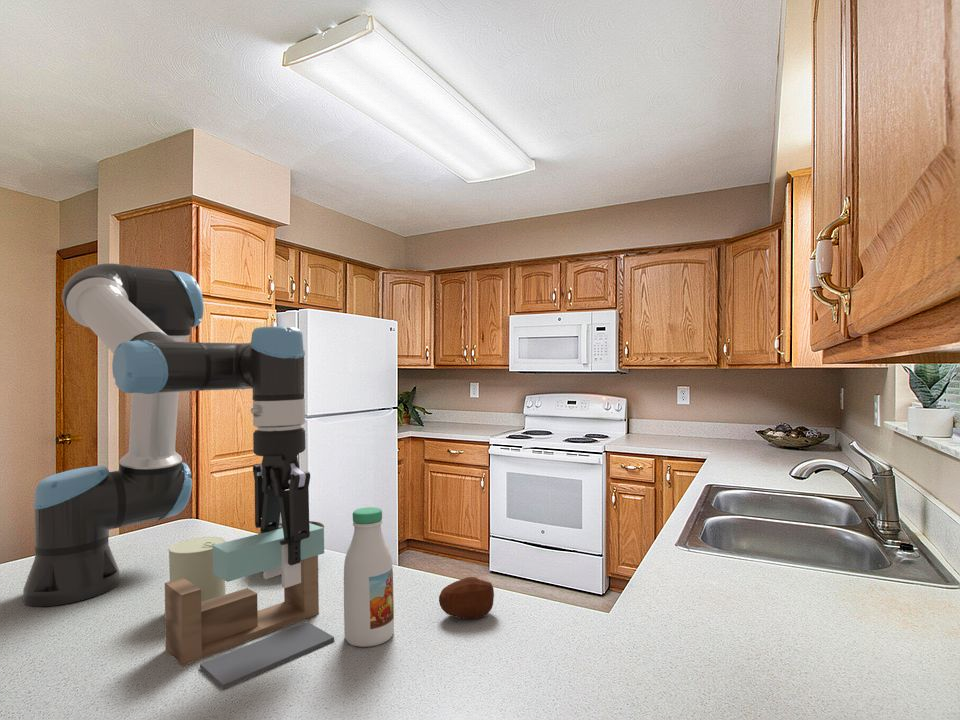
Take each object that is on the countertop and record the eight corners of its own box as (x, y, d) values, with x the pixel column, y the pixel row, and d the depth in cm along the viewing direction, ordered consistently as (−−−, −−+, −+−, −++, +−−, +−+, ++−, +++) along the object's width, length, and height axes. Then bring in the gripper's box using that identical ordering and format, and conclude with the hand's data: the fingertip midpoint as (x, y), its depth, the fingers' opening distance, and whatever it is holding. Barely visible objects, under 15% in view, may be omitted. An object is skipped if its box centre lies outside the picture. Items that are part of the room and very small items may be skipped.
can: (203, 622, 93) (202, 551, 93) (156, 618, 95) (155, 549, 95) (237, 599, 102) (236, 535, 102) (194, 596, 104) (193, 533, 104)
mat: (199, 667, 79) (199, 663, 79) (307, 625, 91) (307, 621, 91) (223, 689, 73) (223, 684, 73) (334, 640, 86) (334, 637, 86)
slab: (212, 573, 79) (212, 545, 79) (307, 546, 90) (307, 522, 90) (227, 581, 75) (227, 552, 75) (324, 553, 86) (323, 527, 86)
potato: (493, 626, 90) (492, 586, 90) (436, 626, 90) (436, 586, 90) (494, 607, 97) (493, 571, 97) (442, 607, 97) (441, 571, 97)
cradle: (165, 649, 84) (164, 582, 84) (298, 602, 100) (297, 546, 100) (182, 666, 79) (181, 595, 79) (318, 613, 95) (317, 554, 96)
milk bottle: (351, 653, 82) (349, 519, 82) (339, 631, 89) (337, 508, 89) (400, 640, 85) (398, 512, 86) (385, 620, 92) (383, 501, 92)
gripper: (229, 426, 87) (231, 573, 87) (285, 433, 75) (288, 604, 75) (274, 422, 93) (276, 560, 93) (333, 428, 81) (336, 587, 80)
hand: (282, 579), depth 84 cm, fingers closed on slab, 5 cm apart
